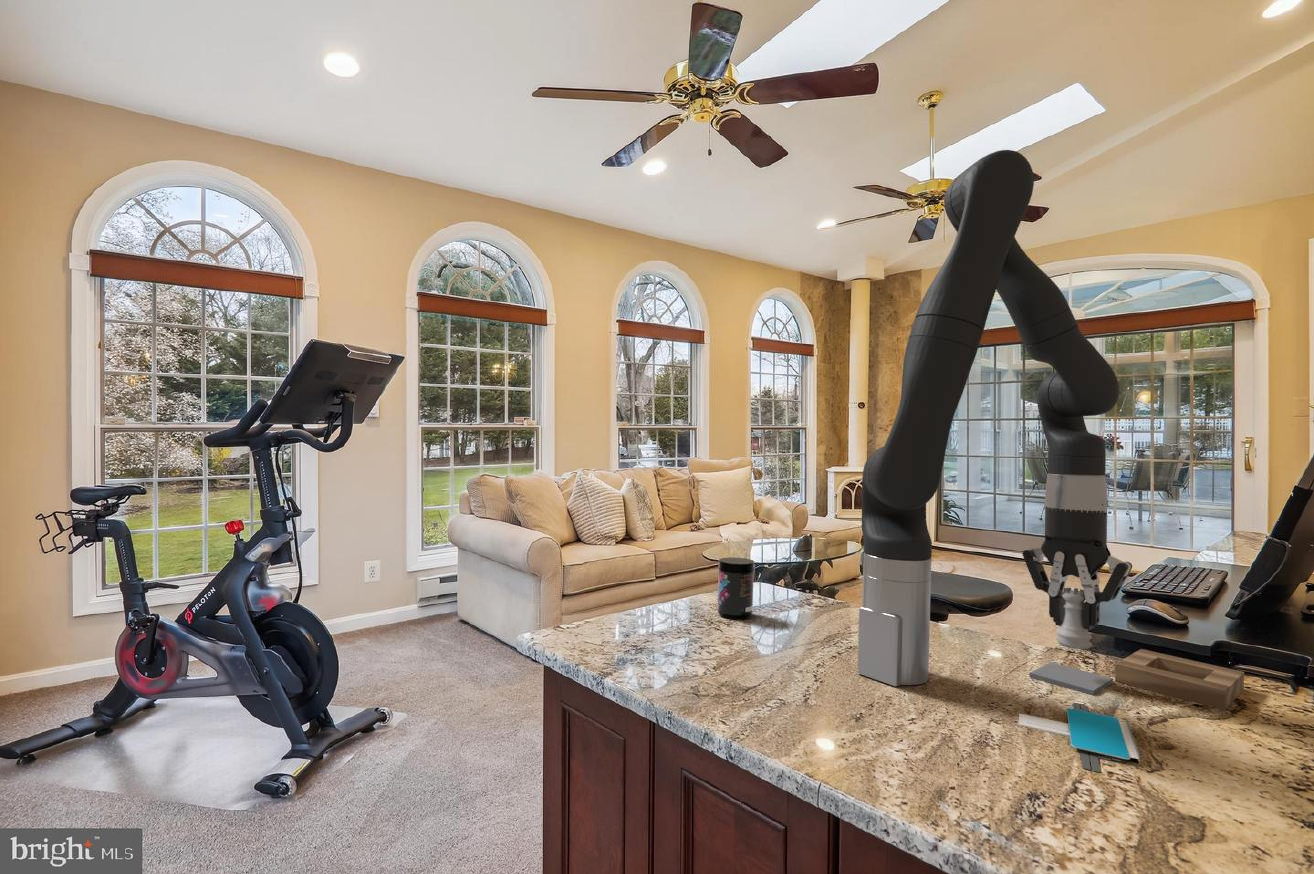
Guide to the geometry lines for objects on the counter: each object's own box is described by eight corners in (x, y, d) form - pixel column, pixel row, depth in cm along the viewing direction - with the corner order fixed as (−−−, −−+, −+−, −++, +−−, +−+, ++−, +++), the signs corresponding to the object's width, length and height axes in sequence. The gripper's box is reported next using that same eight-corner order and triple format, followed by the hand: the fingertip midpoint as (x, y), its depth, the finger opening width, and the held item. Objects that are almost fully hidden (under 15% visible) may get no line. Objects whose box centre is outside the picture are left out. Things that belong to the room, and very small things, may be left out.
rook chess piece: (1098, 651, 89) (1098, 593, 89) (1063, 648, 90) (1063, 591, 90) (1083, 641, 93) (1084, 587, 93) (1050, 639, 94) (1050, 585, 94)
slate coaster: (1093, 695, 86) (1093, 690, 86) (1029, 676, 92) (1029, 672, 92) (1112, 682, 91) (1112, 678, 91) (1051, 666, 97) (1051, 662, 97)
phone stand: (1020, 697, 86) (1020, 685, 86) (1129, 719, 80) (1129, 706, 80) (1016, 758, 69) (1017, 742, 69) (1154, 792, 63) (1155, 775, 63)
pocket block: (1224, 710, 82) (1225, 690, 82) (1115, 681, 92) (1115, 663, 92) (1243, 689, 90) (1244, 672, 90) (1140, 664, 99) (1141, 648, 99)
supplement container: (727, 608, 126) (728, 556, 126) (758, 614, 122) (760, 560, 122) (710, 615, 120) (712, 560, 120) (743, 622, 116) (744, 565, 116)
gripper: (1012, 502, 95) (1010, 618, 95) (1125, 511, 84) (1123, 642, 84) (1033, 500, 100) (1031, 610, 100) (1142, 509, 89) (1141, 632, 88)
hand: (1073, 624), depth 92 cm, fingers closed on rook chess piece, 3 cm apart
